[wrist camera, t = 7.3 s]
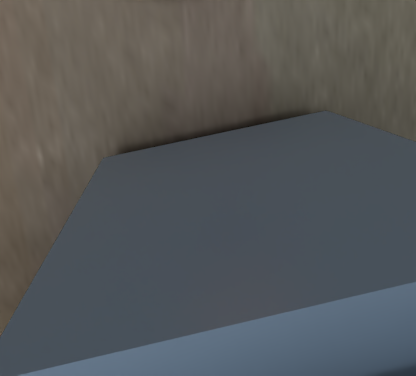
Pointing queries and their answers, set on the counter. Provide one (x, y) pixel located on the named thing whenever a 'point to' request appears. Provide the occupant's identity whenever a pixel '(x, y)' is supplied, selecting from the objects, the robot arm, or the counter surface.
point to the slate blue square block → (233, 260)
